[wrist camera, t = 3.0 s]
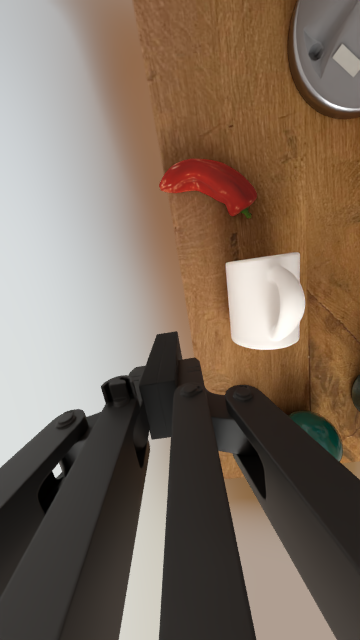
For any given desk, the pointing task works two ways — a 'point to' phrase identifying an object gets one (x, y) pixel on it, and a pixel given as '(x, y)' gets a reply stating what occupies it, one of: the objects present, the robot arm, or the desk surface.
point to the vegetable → (211, 183)
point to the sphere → (320, 431)
